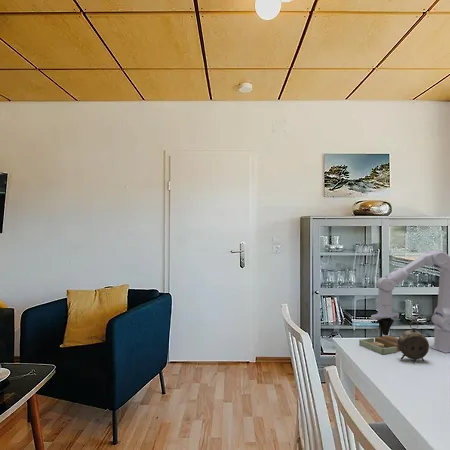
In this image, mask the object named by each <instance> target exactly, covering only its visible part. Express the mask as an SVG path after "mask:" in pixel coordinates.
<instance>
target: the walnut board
mask: <svg viewBox="0 0 450 450" xmlns="http://www.w3.org/2000/svg"><path fill="white" fill-rule="evenodd" d="M398 339H399V337H395V336H392V335H389V334H388V335H383V336H382V335H381V336H375V337H374V342H379V343H381V344H384V347H386V348H390V347H397V353H399V352H401V351H400V350H399V348H398Z"/></svg>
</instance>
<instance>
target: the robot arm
mask: <svg viewBox="0 0 450 450" xmlns="http://www.w3.org/2000/svg"><path fill="white" fill-rule="evenodd" d="M423 266H432V267H434V268H436V269H437V271H438V272H439V281H438V291H437V292H438V294H437V305H436V307H435V308H434V312H433V314H432V316H431V322H432V324H433V325H434V328H433V329H434V331H433V332H434V333H433V335H434V338H433V339H434V341H433V342H434V343H433V345H431V346H430V345H429V349H434V350H437V351H439V352H441V353H445V354H447V353H450V255H449V254H448V253H447V252H445V251H443V250H442V251H441V250H433V249H429V250H426V252H423V253H421V255H419V256H417V258H415V259H413V260H412V261H411V262H409V263H408V264H407V265H406V266H404V267H398V268H397V267H395V268H393V271H391V272H390V273H388V274H387V273H386V274H385V275H384V277H380V278H378V279H377V282H376V283H375V284H376V287H377V288H378V292H377V293H378V297H377V298H378V299H377V300H378V303H377V305H378V307H377V309H378V312H376V313H375V314H371V316H370V319H371V320H372V321H377V323H378V324H379V328H380V330H381V335H383V336H389V333H390V329H391V326H392V325H393V323H394V322H395V320H394V318H396V319H399V318H400V312H393V290H394V289H395V287H396V286H397V285H399V284H401V283H402V282H403V281H405V280H407V279H408V277H409V274H411V273H413V272H415V271H416V270H418V269H420V268H422V267H423Z"/></svg>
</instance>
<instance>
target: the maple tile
mask: <svg viewBox="0 0 450 450" xmlns="http://www.w3.org/2000/svg"><path fill="white" fill-rule="evenodd" d="M370 344H373V345H375V346H378V347H380V348H384V344H381V343H379V342H375V341H374V342H370Z"/></svg>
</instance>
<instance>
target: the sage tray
mask: <svg viewBox="0 0 450 450" xmlns="http://www.w3.org/2000/svg"><path fill="white" fill-rule="evenodd" d="M370 342H375V337H370V338H363V339H359V343H358V344H359V346H360V347H363V348H365V349H367V350H369V351H373V352H375V353H377V354H379V355H381V356H385V355H391V354H397V353H398V352H397V347H390V348H386V347H384V348H380V347H378V346H375V345H373V344H370Z"/></svg>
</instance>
